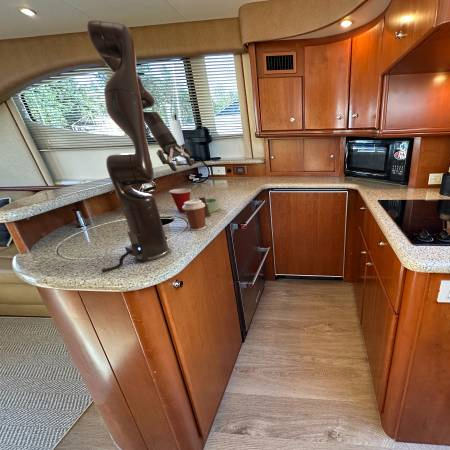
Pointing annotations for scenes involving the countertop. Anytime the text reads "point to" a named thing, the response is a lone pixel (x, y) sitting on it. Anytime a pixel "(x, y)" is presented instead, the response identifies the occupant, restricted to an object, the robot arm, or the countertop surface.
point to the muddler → (205, 206)
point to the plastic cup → (180, 197)
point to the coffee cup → (195, 214)
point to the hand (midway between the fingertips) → (184, 168)
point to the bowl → (212, 204)
